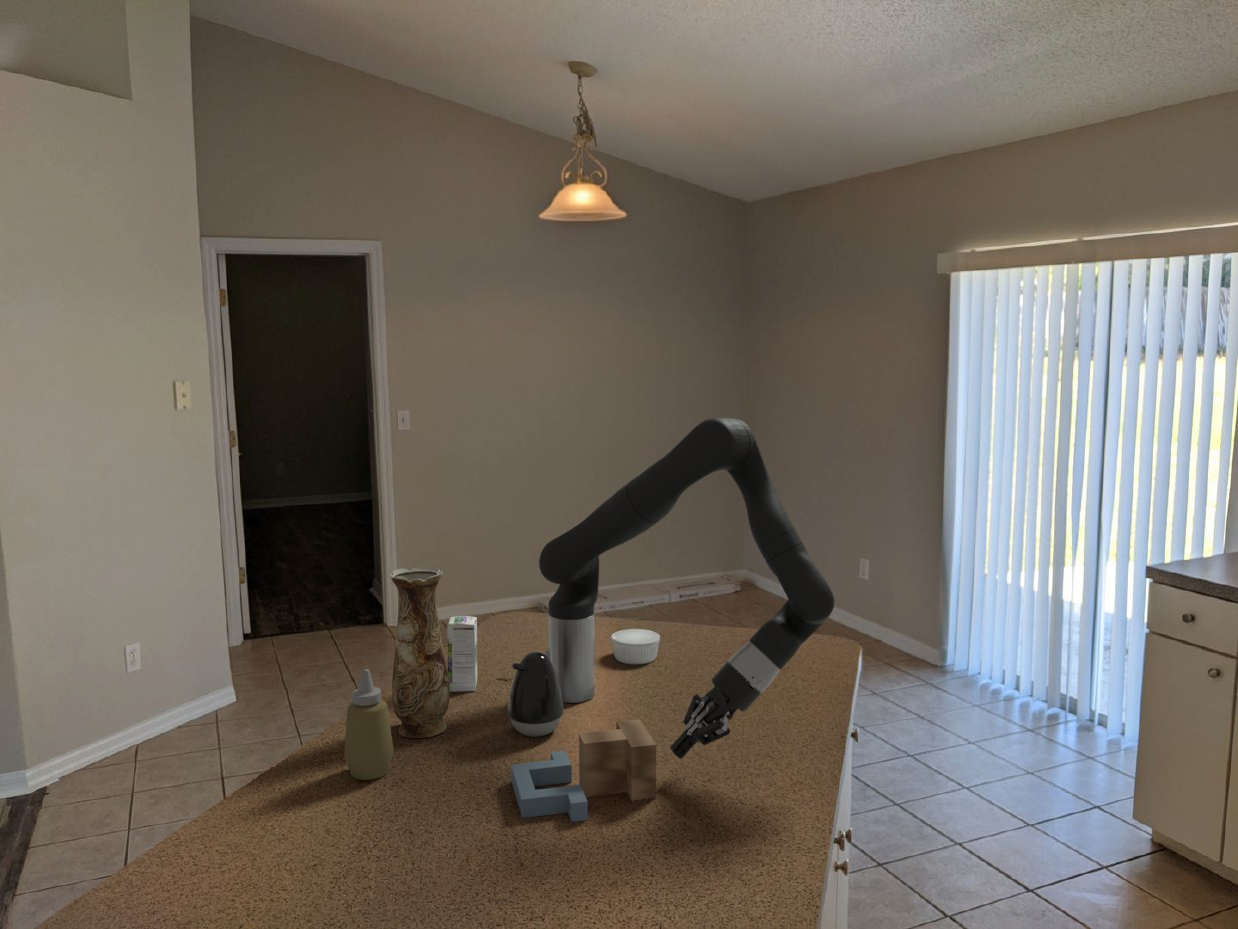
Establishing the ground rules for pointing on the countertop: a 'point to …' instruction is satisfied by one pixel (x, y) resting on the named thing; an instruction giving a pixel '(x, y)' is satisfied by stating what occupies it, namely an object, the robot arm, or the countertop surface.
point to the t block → (618, 761)
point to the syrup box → (462, 653)
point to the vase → (419, 655)
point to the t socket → (550, 798)
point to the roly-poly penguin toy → (535, 696)
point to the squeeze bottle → (368, 732)
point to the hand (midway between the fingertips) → (675, 753)
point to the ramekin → (635, 646)
